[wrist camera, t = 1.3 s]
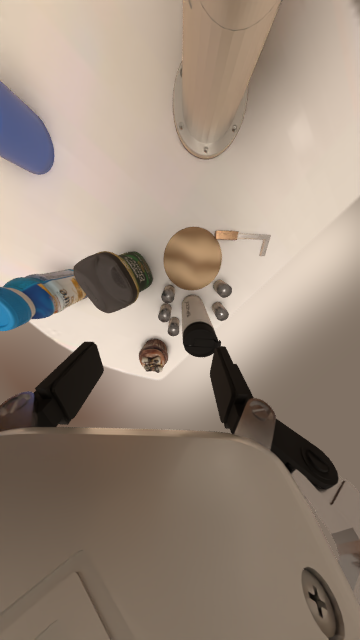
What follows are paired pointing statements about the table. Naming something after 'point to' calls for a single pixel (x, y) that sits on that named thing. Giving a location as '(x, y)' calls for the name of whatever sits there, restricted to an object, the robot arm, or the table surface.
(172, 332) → the spacer field
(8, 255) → the table surface
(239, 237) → the hook tool
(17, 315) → the beverage bottle
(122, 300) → the coffee jar
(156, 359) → the cupcake
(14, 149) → the water bottle
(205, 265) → the round wooden board
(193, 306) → the travel mug
